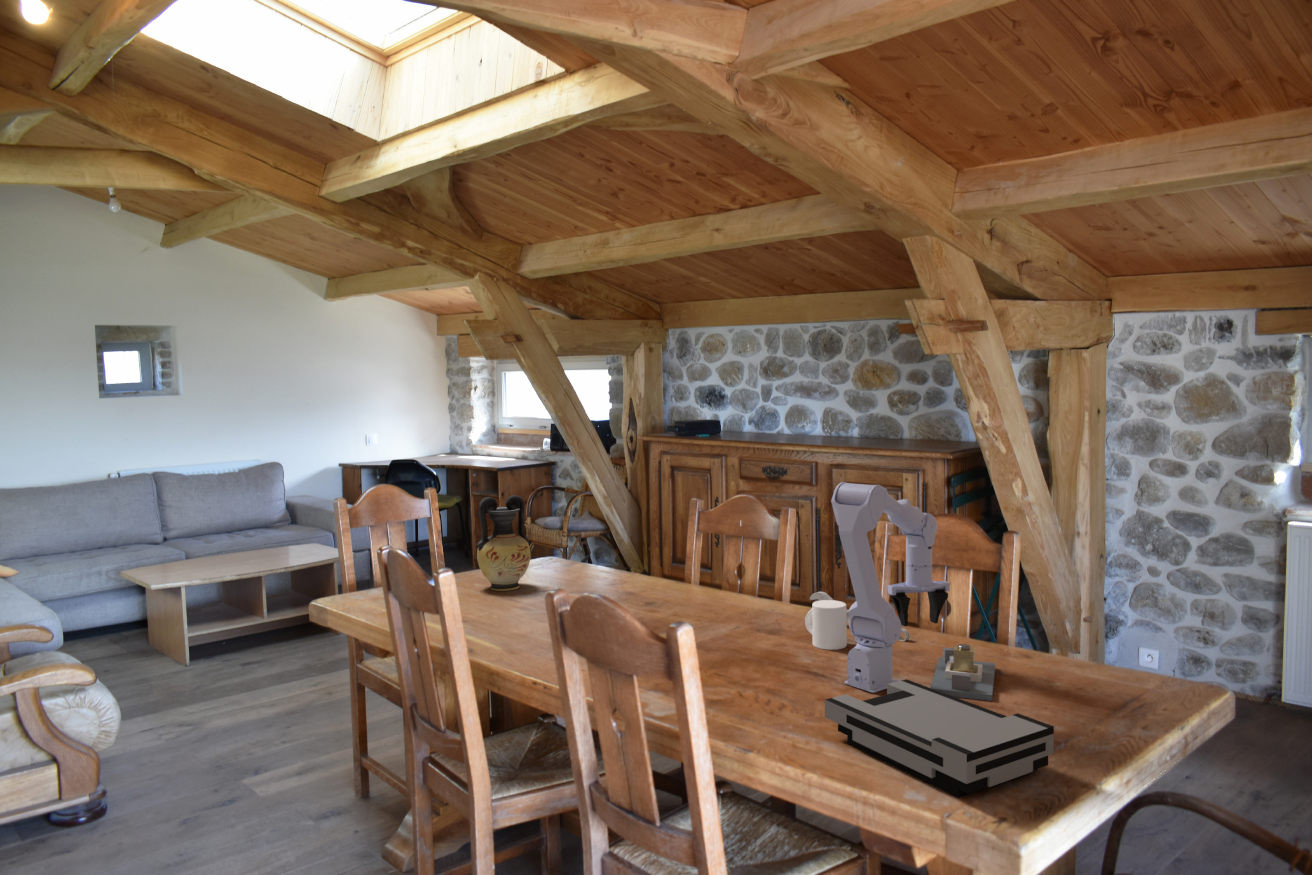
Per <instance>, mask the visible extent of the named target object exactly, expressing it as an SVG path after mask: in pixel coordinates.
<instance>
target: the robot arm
mask: <svg viewBox="0 0 1312 875" xmlns="http://www.w3.org/2000/svg"><path fill="white" fill-rule="evenodd" d="M830 502H831V506H832V510H833V514H834V517H835V521H836V524H837V526H838V535H839V537H840V541H841V545H842V550H843V553H844V557H845V562H846V566H847V569H848V574H849V577H850V581H851V585H852V588H853V593H854V596H855V601H854V602H853V603H852V604H851V606H850V607H849V609H848V610H849V611H848V613H849V622H848V627H849V631H850V633H851V636H853V637H854V641H855V642H857V643H856V645H855V646H854V647H853V648H851V649H850V650H849V651H848V654H847V680H844V684H845V685H847V686H850V687H854V688H856V689H859V690H863V691H866V692H869V693H872V694H875V693H878V692H881V691H884V690H887V684H890V683H894V682H898V681H900V680H899V679H895V678H893V645H895V644H896V643H897V641H899V640H898V639H899V637H900V636H902V635H901V634H902V631H901V630H902V628H903V627H908V624H909V623H908V622H909V606H910V601H911V598H910V597H908V595H907V594H913V593H916V594H917V593H927V596H928V597H927V599H928V602H929V603H928V604H929V622H930V623H933V624H938V622H939V619H940V614H941V612H942V609H943V607H944V605H945V602H946V601H947V599H948V598H949V593H948V592H950V590H951V589H950V585H951V583H950V582H949V581H946V580H933V546H934V545H935V543H936V534H937V532H938V526H939V525H938V523H937V522H938V520H937V519H936V517H935V516H933V514H931V513H930V512H929V513H928V512H923V511H922V510H921V508H920V507H918V506H914V505H912V503H911V500H910V499H907V498H906V499H905V498H902V499H899V500H897V499H896V498H895V497H893V496H892V495H890V493H888V488H886V487H884V486H883V485H881V484H863V483H851V482H845V481H841V482H839V483H838V484H837V485H836V487H835V489H834V491H833V495H832V497H831V500H830ZM883 513H884V514H886V515H887V518H888V520H889V522H890V523H892V525H894V526H896V527H898V528H899V529H900V531H901V534H902V536H905V582H904V581H903V582H900V583H894V584H893V583H892V584H887V594H889V597H890V599H891V601H892V602H893V604H894V606H893V605H892V604H891V603H889V602H888V601H887V600H885V598H883V595H882V591H881V587H880V582H879V578H878V574H877V571H876V567H875V563H874V558H873V555H872V551H871V546H870V542H869V538H868V532H870V531H872V530H874V529H875V528H876V527H877V524H878V523H879V521H880V520H881V519H880V518H882V515H883ZM895 609H896V610H895Z"/></svg>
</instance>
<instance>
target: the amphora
mask: <svg viewBox="0 0 1312 875" xmlns="http://www.w3.org/2000/svg"><path fill="white" fill-rule="evenodd" d="M517 512H518V514H517ZM478 513H479V514H478V516H479V521H480V530H481V538H480V540H479V541H478V542H477V543H476V548H477V552H476V559H477V564H478V566H479V570H480V571H481V573H482V575H483V576H484V578H486V579H487V581H489V583H490V585H491V586H490V590H493V591H497V592H500V591H501V592H506V591H515V590H517V589H519V588H520V586H521V585H520V583H519V581H520V580H521V578H522V577H524V575H525V574H526V572H527V570H528V568H529V565H530V562H531V548H530V545H529V538H528V537H527V536H526V535H525V501H524V499H523V498H522V497H521V496H520V495H515V494H513V495H510V496H509V497H507V498H506V500H505V506H502V507H498V501H497V500H496V499H495V497H491V496H487V497H484V498H482V499H481V501H480V502H479V504H478ZM486 514H488V517H489V519H490V521H492V524H493V531H492V533H491V534H490V536H489V534H488V533H489V531H488V524H487V523H488V522H487V515H486ZM516 517H517V534H516V533H515V531H514V526H513V523H514V522H513V521H514V520H515V518H516Z"/></svg>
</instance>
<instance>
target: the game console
mask: <svg viewBox="0 0 1312 875" xmlns="http://www.w3.org/2000/svg"><path fill="white" fill-rule="evenodd" d="M824 718H825V719H827V720H830V721H831V722H834V723H836V724H837V732H839V733H842V734H844V735H846V736H847V739H846V742H847V745H849V746H851V747H853V748H856V749H857V750H859V751H861V752H864V753H866V754H868V755H870V756H871V757H873V758H876V759H878V760H880V761H882V762H884V763H886V764H888V765H890V766H892V767H894V768H896V769H898V770H900V771H902V772H904V773H906V774H908V775H910V776H913V777H914V778H917V779H918V780H921V781H922V782H923V783H927V784H929V785H930V786H933V787H934V788H937V789H938V790H941V791H942V792H945V793H947V794H949V795H951V796H953V797H954V798H957V799H960V798H963V797H967V796H968V795H972V794H975V793H977V792H980V791H983V790H985V789H986V788H991V787H993V786H997V785H1000V784H1001V783H1004V782H1009V781H1010V780H1013V779H1016V778H1018V777H1022V776H1024V775H1025V776H1026V775H1027V774H1030V773H1033V772H1036V771H1038V770H1039V769H1041V768H1045V767H1046V766H1049V756H1051V755H1053V754H1054V753H1055V752H1054V747H1055V746H1054V745H1055V744H1054V743H1055V742H1054V741H1055V740H1054V739H1055V738H1054V737H1055V736H1054V735H1055V734H1054V733H1055V727H1054V725H1051V724H1049V723H1045V722H1043V721H1040V720H1038V719H1035V718H1032V717H1030V716H1026V715H1023V714H1021V713H1018V712H1017V713H1014V714H1011V715H1008V716H1007V715H1004V714H1002V713H999V712H997V711H993V710H991V709H988V708H986V707H982V706H980V705H978V704H975V703H973V702H969V701H966V700H964V699H961V698H960V697H953V696H950V695H948V694H945V693H942V692H940V691H937V690H934V689H932V688H930V687H928V686H926V685H923V684H921V683H918V682H915V681H913V680H910V679H902V680H899V681H898V682H894V683H890V684H887V689H886V694H883V695H880V696H876V697H872V698H868V699H865V700H861V699H859V698H856V697H854V696H852V695H848V694H842V695H836V696H833V697H830V698H826V699H824ZM1037 769H1038V770H1037ZM1035 770H1036V771H1035Z"/></svg>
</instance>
